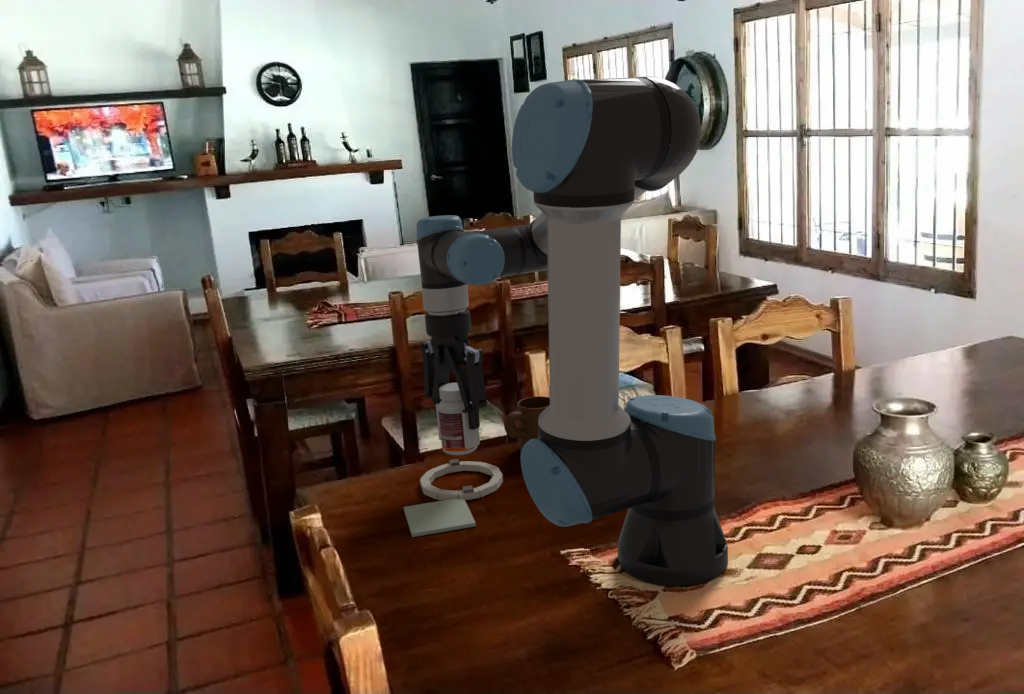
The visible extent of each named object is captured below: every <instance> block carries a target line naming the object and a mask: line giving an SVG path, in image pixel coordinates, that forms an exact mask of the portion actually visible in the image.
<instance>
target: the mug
mask: <svg viewBox="0 0 1024 694" xmlns="http://www.w3.org/2000/svg"><path fill="white" fill-rule="evenodd" d="M549 405H550V396H549V397H548V396H528V397H525V398H522V399H520V400H519V401H517V402H516V410H515V411H512V412H509V414H508V415H506V417H505V418H504V423H503V426H504V427H503V428H504V431H505V433H506V434H507V436H509V437H510V438H511V439H518V445H519V446H518V448H519V451H521V450H522V448H523V446H524V445H525V443H526V442H528V441H530V439H536V438H538V418H539V415H540V414H541V413H542V412H543V411H544V410H545V409H546V408H547V407H548V406H549ZM515 421H516V425H517V428H514V422H515Z"/></svg>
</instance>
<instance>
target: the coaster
mask: <svg viewBox="0 0 1024 694" xmlns="http://www.w3.org/2000/svg"><path fill="white" fill-rule="evenodd" d="M466 501H467V500H465V499H464V497H461V498H455V499H449V500H438V501H431V502H426V503H425V502H424V503H420V504H413V505H407V506H406V505H405V506H403V512H404V515H405V518H406V522H407V524H408V528H409V531H410V534H411V538H414V537H415V538H416V537H422V536H427V535H434V534H440V533H444V532H451V531H455V530H462V529H469V528H473V527H474V528H475V527H476V526H477V523H476V520H475V519H474V516H473V514H472V512H471V509H470V507H469V506H468V503H467V502H466Z"/></svg>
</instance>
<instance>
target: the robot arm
mask: <svg viewBox="0 0 1024 694" xmlns="http://www.w3.org/2000/svg"><path fill="white" fill-rule="evenodd" d="M699 115H700V114H699V111H698V109H697V106H696V105H695V103H694V101H693V99H692V98H691V97H690V96H689V94H688V93H687V92H685V91H684V89H682V88H681V87H680V86H679V85H677V84H675V83H674V82H673V81H670V80H667V79H665V78H660V77H656V76H636V77H621V78H620V77H617V78H615V77H614V78H613V77H612V78H611V77H610V78H592V79H591V78H589V79H586V78H585V79H584V78H583V79H578V78H572V79H566V80H560V81H553V82H547V83H544V84H543V83H542V84H541V85H539V86H536V87H535V88H534V89H532V90H531V91H530V93H529V94H528V95H527V96H526V98H525V100H524V102H523V103H522V104H521V105H520V107H519V109H518V112H517V115H516V118H515V121H514V126H513V131H512V139H511V157H512V165H513V167H514V168H516V171H515V172H516V173H515V175H516V177H517V179H518V181H519V183H521V185H522V186H523V187H524V188H525V189H526V190H527V191H528V190H529V191H530V192H533V204H534V206H536V208H537V209H539V211H541V213H540V214H538V216H537V217H536V218H534V220H532V221H531V222H530V223H528V224H523V225H516V226H514V225H513V226H509V227H501V228H493V229H486V230H485V229H484V230H478V231H469V232H468V231H465V229H464V226H463V222H462V219H461V217H460V216H458V215H456V214H455V215H452V214H447V215H445V214H444V215H434V216H426V217H423V218H420V219H419V220H418V221H416V222H417V223H416V240H415V241H416V245H417V253H418V261H419V270H420V280H421V292H422V295H421V296H422V306H423V310H424V311H425V312H426V313H425V315H424V323H425V332H426V335H428V336H429V337H430V338H431V339H430V340H427V341H423V342H420V344H419V348H420V351H421V354H422V365H423V366H422V367H423V380H424V381H423V384H424V386H423V387H424V395H425V396H424V397H426V398H430V399H431V401H432V403H433V404H434V413H435V414H434V415H435V419H436V422H437V430H438V431H437V432H438V441H441V432H440V422H439V413H438V405H439V403H440V402H441V401H442V399H440V393H439V388H440V387H441V386H442V385H445V384H448V383H450V375H451V373H453V374H454V376H455V380H456V383H457V384H458V387H459V390H460V394H461V397H462V400H463V404H464V407H465V409H464V410H462V420H463V431H464V442H465V448H466V449H469V448H472V447H474V446H477V447H478V446H479V445H481V441H480V429H479V428H480V425H481V424H480V409H482V408H485V407H487V406H488V400H487V391H486V385H485V383H486V382H485V376H484V368H483V358H484V357H483V356H484V351H483V349H482V348H477V349H475V348H474V347H472V346H471V343H470V341H469V338H468V337H469V336H468V335H469V333H470V332H471V331H472V320H471V311H470V310H469V309H468V307H469V306H470V300H469V288H468V285H471V286H472V285H473V286H475V285H479V286H482V285H488V284H490V283H492V282H494V281H495V280H496V279H498V278H506V277H511V276H516V275H523V274H530V273H537V272H543V271H547V296H548V298H547V299H548V302H547V304H548V305H547V306H548V307H547V308H548V314H547V315H548V357H549V358H548V360H549V361H548V369H549V398H550V405H549V406H548V407H547V408H546V409H545V410H544V411H543V412H542V413H541V414H540V415H539V418H538V438H536V439H530V441H528V442H526V443H525V445H524V446H523V448H522V450H520V467H521V471H522V473H521V474H522V477H523V480H524V483H525V485H526V488H527V491H528V492H529V495H530V498H531V499H532V501H533V503H534V504H535V506H536V508H537V510H538V511H539V512H540V513H541V514H542V515H543V517H544V518H546V519H547V521H549V522H551V523H552V524H554V525H556V526H557V527H558V526H559V527H563V528H564V527H566V528H567V527H571V526H572V527H573V526H575V525H580V524H582V523H583V524H589V523H591V522H592V521H594V520H597V519H600V518H603V517H606V516H610V515H612V514H615V513H619V512H622V511H624V510H627V512H626V516H625V519H624V522H623V525H622V528H621V531H620V535H619V537H618V540H617V541H618V542H617V560H618V563H619V565H620V567H621V568H622V569H623V570H624V572H626V573H627V574H629V575H630V576H632V577H633V578H636V579H638V580H640V581H643V582H647V583H650V584H655V585H658V586H665V587H666V586H667V587H668V586H669V587H670V586H671V587H682V586H683V587H684V586H686V587H687V586H692V585H698V584H702V583H706V582H709V581H711V580H714V579H715V578H717V577H718V576H720V575H721V574H722V573H723V572H724V571H725V570H726V568H727V566H728V564H729V561H728V560H729V551H728V550H729V548H728V547H729V546H728V542H727V539H726V536H725V534H724V531H723V528H722V525H721V521H720V520H719V517H718V514H717V511H716V508H715V503H716V502H715V499H716V498H715V497H716V495H715V492H716V491H715V483H716V482H715V473H716V472H715V466H716V465H715V463H716V462H715V460H716V459H715V458H716V456H715V455H716V440H717V437H716V436H717V435H715V425H714V424H715V423H714V415H713V413H712V411H711V410H710V409H709V408H708V407H706V406H705V405H704V404H702V403H700V402H697V401H695V400H692V399H689V398H684V397H680V396H679V397H678V396H674V395H673V396H672V395H663V394H662V395H661V394H660V395H659V394H652V395H651V394H649V395H639V396H634V397H632V398H630V399H628V401H627V402H626V404H625V407H624V408H622V407H621V405H619V404H620V403H619V402H620V397H619V396H620V342H621V341H620V338H621V337H620V334H621V332H620V331H621V329H620V327H621V326H620V324H621V323H620V321H621V318H620V317H621V256H622V255H621V248H622V247H621V244H622V231H621V230H622V216H623V215H624V214H625V212H627V210H628V209H629V208H630V207H631V206H632V205H633V204H634V203H635V201H636V200H637V199H638V198H640V197H641V196H642V195H643V194H645V193H646V192H656V191H659V190H661V189H663V188H665V187H666V186H667V185H668V184H670V183H671V182H673V181H674V180H675V179H676V178H678V177H679V176H680V175H681V174H682V173H683V172H684V171H685V170H686V169H687V168H688V166H689V165H690V164H691V163H692V162H693V160H694V158H695V156H696V154H697V153H698V149H699V146H700V143H701V136H702V128H701V127H702V126H701V119H700V116H699ZM470 402H471V404H470Z"/></svg>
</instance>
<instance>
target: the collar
mask: <svg viewBox="0 0 1024 694" xmlns="http://www.w3.org/2000/svg"><path fill="white" fill-rule="evenodd" d="M448 462H449V463H445V464H441V465H438V466H436V467H433V468H432V469H429V470H427V471H426V472H425V473H424V474H423V475H422V476H421V477H420V479H419V485H420V488H421V491H422V494H423V495H425V496H427V497H430V498H432V499H434V500H438V501H443V500H449V499H455V498H461V497H464V499H465V501H469V500H475V499H480V498H483V497H485V496H487V495H490V494H492V493H494V492H496V491H497V490H498V489H499V488H500V487H501V485H502V484H503V483H504V477H503V476H504V475H503V473H502V471H501V470H500V468H499V467H498V466H496V465H493V464H490V463H487V462H483V461H469V460H465V461H460V460H459V458H454V459H449V461H448ZM463 471H466V472H468V471H469V472H480V473H483V474H485V475H489V476H490V477H491V478H490V480H489V481H488V482H486V483H483V484H482V485H480V486H477V487H473V485H472V484H471V485H465V486H462V487H461V488H462V489H461V490H452V489H451V490H449V489H441V488H438V487H437V486H434V485H432V483H433V482H434V481H435V480H436V479H437V478H439V477H442V476H445V475H446V474H447V475H448V474H450V473H451V474H452V473H456V472H457V473H458V472H463Z"/></svg>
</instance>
